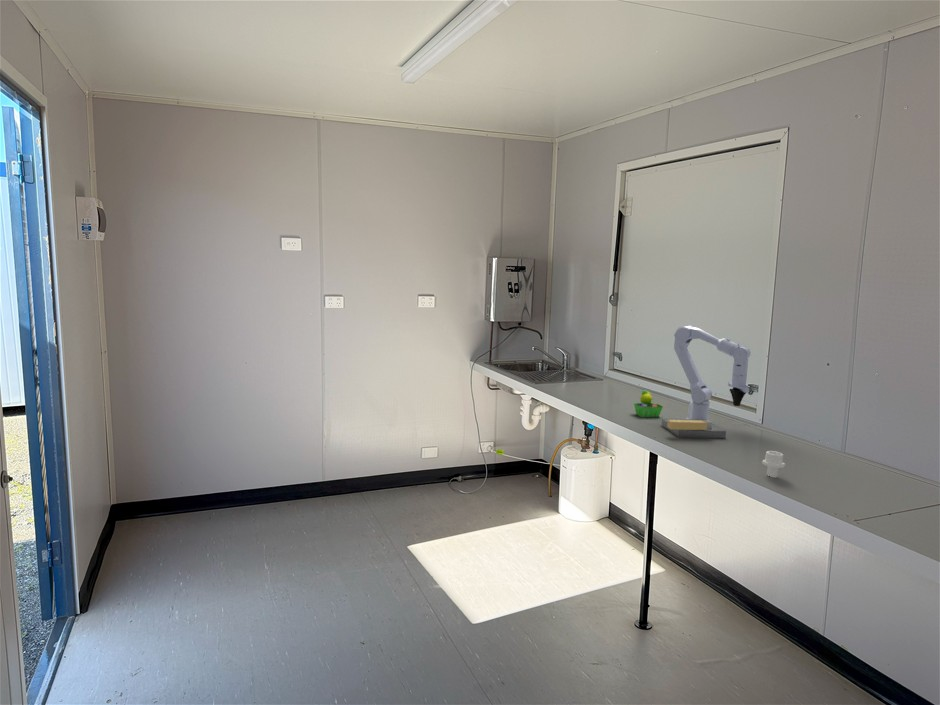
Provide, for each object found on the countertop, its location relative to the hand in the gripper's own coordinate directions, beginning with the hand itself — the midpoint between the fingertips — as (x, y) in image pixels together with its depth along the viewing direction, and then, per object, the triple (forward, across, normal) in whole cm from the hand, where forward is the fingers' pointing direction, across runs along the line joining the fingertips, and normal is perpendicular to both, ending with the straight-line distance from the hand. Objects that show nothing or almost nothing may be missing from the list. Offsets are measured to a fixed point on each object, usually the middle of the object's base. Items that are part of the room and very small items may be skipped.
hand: (736, 405), depth 272 cm
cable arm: (+7, -14, +26) cm, 31 cm away
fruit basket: (+10, +21, +31) cm, 39 cm away
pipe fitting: (+11, -60, +17) cm, 63 cm away
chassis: (+10, -6, +21) cm, 24 cm away
